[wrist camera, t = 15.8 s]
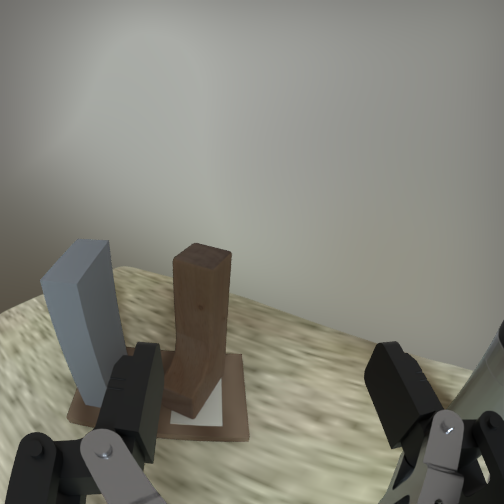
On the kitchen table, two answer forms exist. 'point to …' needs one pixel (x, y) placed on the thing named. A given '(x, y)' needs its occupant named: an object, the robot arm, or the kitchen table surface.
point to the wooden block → (198, 327)
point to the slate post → (86, 315)
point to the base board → (208, 419)
